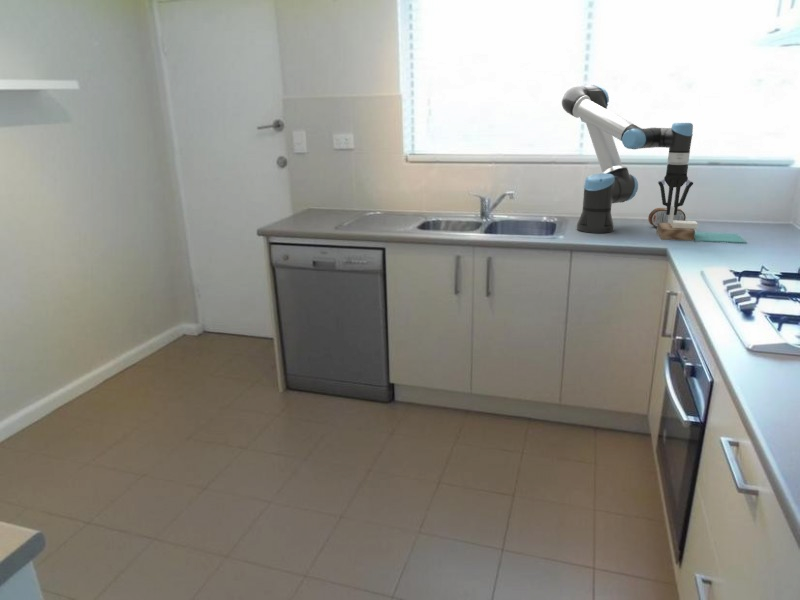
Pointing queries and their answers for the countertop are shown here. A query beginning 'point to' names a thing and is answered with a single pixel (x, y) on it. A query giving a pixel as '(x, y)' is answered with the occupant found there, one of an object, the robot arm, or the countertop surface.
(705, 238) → the mat
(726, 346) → the countertop surface
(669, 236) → the brown wooden block
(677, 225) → the white rectangular block
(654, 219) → the tin
